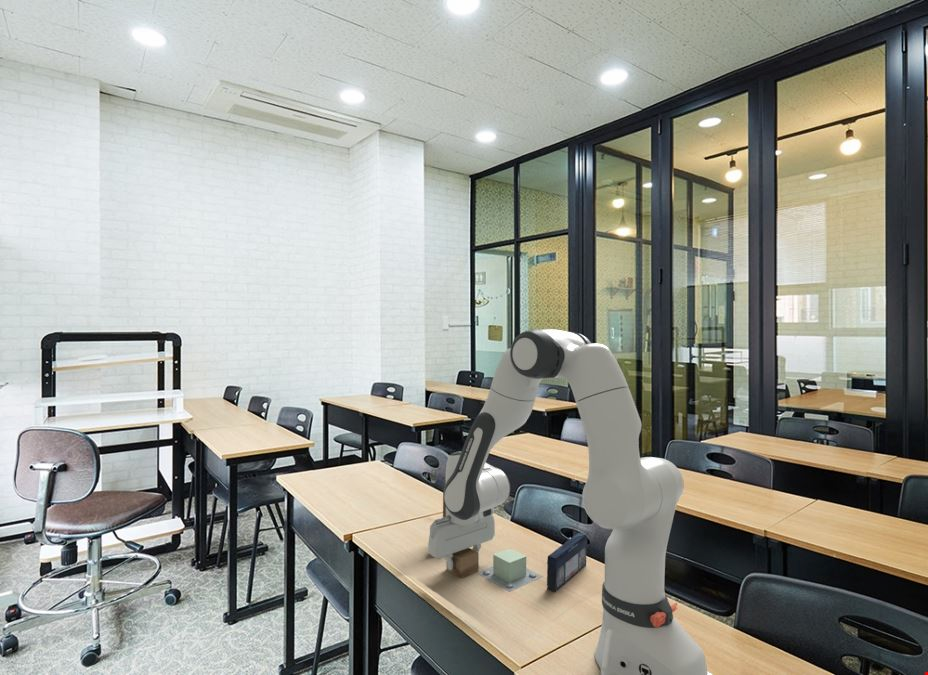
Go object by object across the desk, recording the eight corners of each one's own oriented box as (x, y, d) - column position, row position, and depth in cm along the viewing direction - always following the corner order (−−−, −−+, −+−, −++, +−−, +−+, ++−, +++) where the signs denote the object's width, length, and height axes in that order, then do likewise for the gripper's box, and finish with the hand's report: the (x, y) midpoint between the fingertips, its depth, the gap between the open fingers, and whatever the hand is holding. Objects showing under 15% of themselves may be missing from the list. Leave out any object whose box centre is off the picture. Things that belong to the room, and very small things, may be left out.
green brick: (526, 575, 129) (526, 556, 129) (509, 582, 125) (509, 562, 125) (509, 567, 134) (509, 548, 134) (493, 573, 130) (493, 554, 130)
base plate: (542, 582, 129) (542, 574, 129) (509, 597, 121) (509, 589, 121) (509, 565, 138) (509, 558, 138) (476, 578, 130) (476, 571, 130)
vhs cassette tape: (555, 599, 121) (555, 558, 121) (544, 595, 123) (545, 554, 123) (588, 571, 135) (588, 534, 135) (578, 568, 137) (578, 532, 137)
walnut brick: (478, 571, 131) (478, 552, 131) (460, 578, 128) (460, 559, 128) (464, 563, 136) (463, 545, 136) (446, 570, 132) (446, 551, 132)
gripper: (437, 524, 123) (437, 581, 123) (498, 506, 136) (498, 557, 136) (423, 517, 128) (423, 572, 128) (482, 501, 141) (483, 550, 141)
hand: (462, 564), depth 132 cm, fingers closed on walnut brick, 6 cm apart
